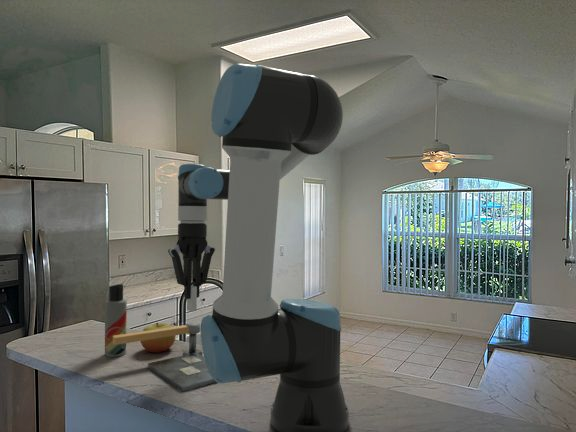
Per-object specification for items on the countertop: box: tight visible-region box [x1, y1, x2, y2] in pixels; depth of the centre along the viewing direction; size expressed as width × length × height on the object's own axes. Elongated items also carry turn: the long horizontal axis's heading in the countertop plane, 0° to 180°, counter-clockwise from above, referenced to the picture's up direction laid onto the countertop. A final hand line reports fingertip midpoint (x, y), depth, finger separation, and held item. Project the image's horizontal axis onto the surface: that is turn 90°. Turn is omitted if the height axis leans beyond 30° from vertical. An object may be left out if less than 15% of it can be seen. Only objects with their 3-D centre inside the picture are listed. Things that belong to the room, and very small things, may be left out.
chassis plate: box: [147, 353, 217, 393], centre depth 107 cm, size 20×14×1 cm
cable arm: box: [113, 322, 201, 345], centre depth 115 cm, size 24×4×2 cm, turn 125°
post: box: [182, 333, 203, 356], centre depth 120 cm, size 4×4×6 cm
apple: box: [140, 322, 177, 353], centre depth 124 cm, size 10×10×8 cm
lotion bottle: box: [104, 283, 128, 358], centre depth 120 cm, size 6×6×20 cm
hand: (191, 310), depth 112 cm, fingers closed
